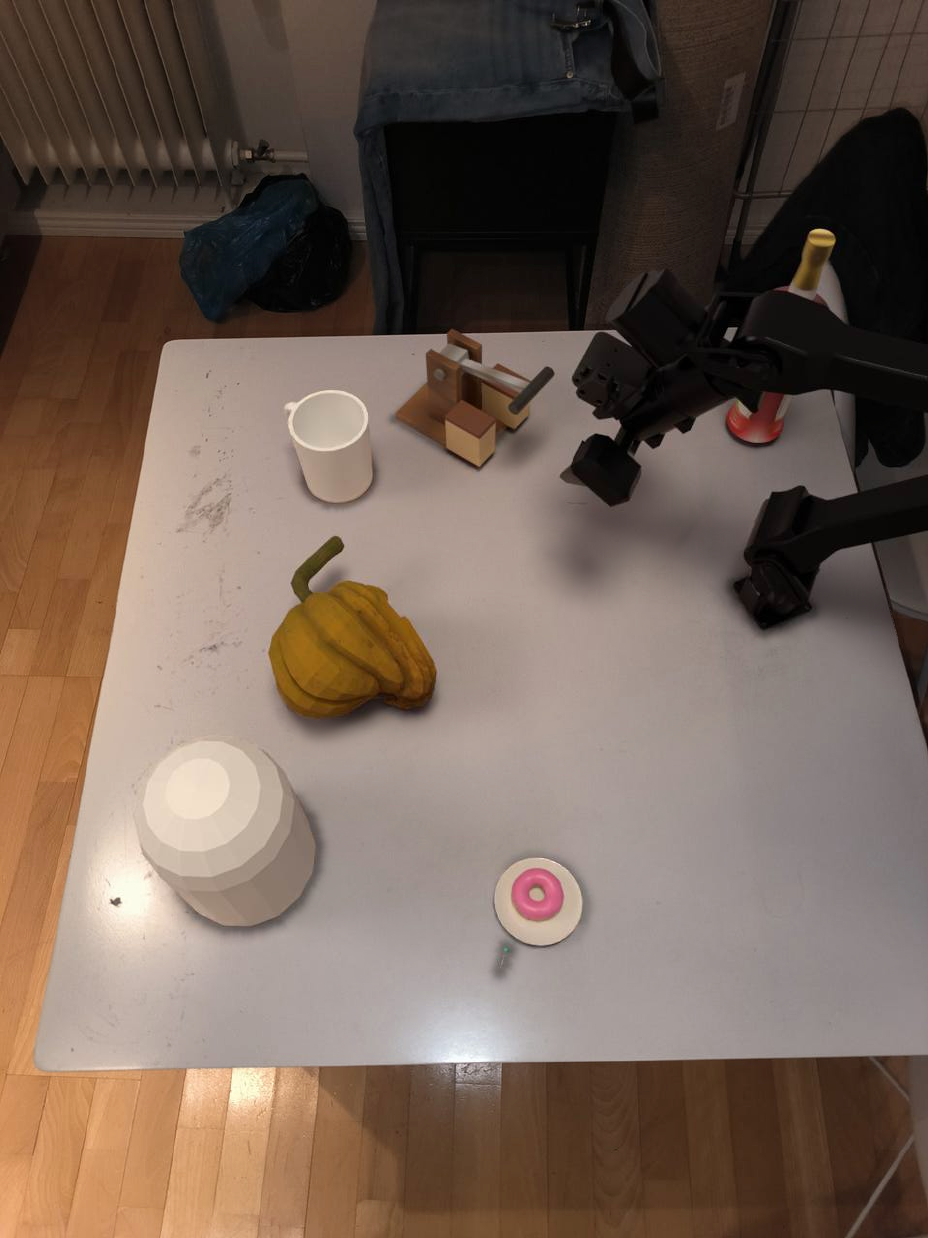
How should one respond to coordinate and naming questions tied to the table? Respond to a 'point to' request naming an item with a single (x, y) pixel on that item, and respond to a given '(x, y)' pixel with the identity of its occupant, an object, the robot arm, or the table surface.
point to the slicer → (445, 391)
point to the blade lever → (501, 377)
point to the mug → (332, 444)
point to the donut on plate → (538, 901)
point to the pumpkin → (346, 648)
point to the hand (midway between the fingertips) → (579, 446)
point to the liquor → (775, 405)
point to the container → (225, 830)
